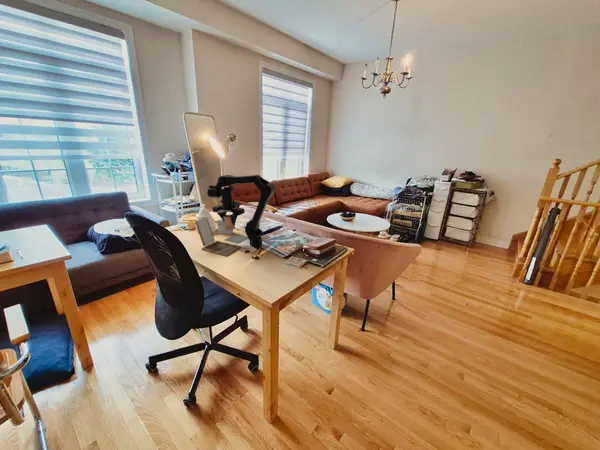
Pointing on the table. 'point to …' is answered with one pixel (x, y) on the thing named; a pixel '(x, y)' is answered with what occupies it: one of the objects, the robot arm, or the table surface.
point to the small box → (222, 227)
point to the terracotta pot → (228, 222)
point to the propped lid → (205, 231)
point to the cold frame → (221, 248)
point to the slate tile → (236, 238)
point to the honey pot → (205, 213)
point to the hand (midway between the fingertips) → (230, 224)
